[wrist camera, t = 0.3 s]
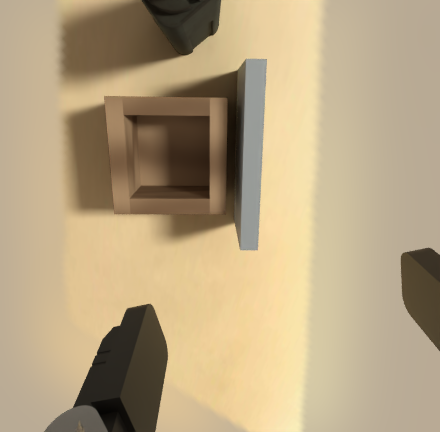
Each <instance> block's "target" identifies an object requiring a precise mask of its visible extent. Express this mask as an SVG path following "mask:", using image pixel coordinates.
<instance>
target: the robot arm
mask: <svg viewBox="0 0 440 432" xmlns="http://www.w3.org/2000/svg"><path fill="white" fill-rule="evenodd" d="M401 275H402V276H401V277H402V296H403V301H404V304H405V307H406V309H407V311H408V313H409V314H410V315H411V317H412V318H413V319H414V320H415V322H416V323H417V324H418V325H419V326H420V328H421V329H422V330H423V331H424V332H425V334H426V335H427V336H428V337H429V339H430V340H431V341H432V342H433V343H434V345H435V346H436V347H437V348H438V350H439V351H440V255H439V254H438V253H436V252H435V251H434V250H433V249H431V248H425V249H420V250H415V251H410V252H405V253H403V254H402V256H401ZM167 360H168V351H167V344H166V340H165V337H164V335H163V332H162V329H161V326H160V324H159V321H158V318H157V315H156V313H155V310H154V308H153V306H152V305H151V304H146V305H141V306H136V307H132V308H128V309H127V310H126V312H125V315H124V317H123V320H122V322H121V325H120V326H116V327H113V328H112V329H111V331H110V332H109V333H108V334H107V335H106V336H105V337H104V339H103V340H102V342H101V344H100V347H99V349H98V351H97V355H96V356H95V358H94V361H93V363H92V367H91V368H90V370H89V372H88V375H87V377H86V379H85V381H84V383H83V386H82V388H81V390H80V393H79V395H78V397H77V400H76V402H75V404H74V406H73V408H72V409H70V410H67V411H66V412H64V413H62V414H61V415H60V416H58V417H57V418H56V419H55V420H54V421H53V422H52V423H51V424H50V425H49V426H48V427H47V429H46V430H45V431H44V432H155V430H156V424H157V418H158V412H159V407H160V401H161V395H162V389H163V384H164V378H165V372H166V366H167Z"/></svg>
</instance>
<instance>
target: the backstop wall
mask: <svg viewBox="0 0 440 432" xmlns="http://www.w3.org/2000/svg"><path fill="white" fill-rule="evenodd" d="M266 65H267V59H246V60H245V61H244V62H243V64H242V65H241V66H240V68H239V69H238V72H237V114H236V156H235V199H234V222H235V227H236V231H237V236H238V241H239V246H240V250H258V235H259V214H260V192H261V171H262V150H263V129H264V107H265V86H266Z"/></svg>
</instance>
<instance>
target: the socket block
mask: <svg viewBox="0 0 440 432" xmlns="http://www.w3.org/2000/svg"><path fill="white" fill-rule="evenodd" d="M104 100H105V112H106V123H107V135H108V146H109V158H110V169H111V181H112V192H113V204H114V214H226V160H227V98H214V97H126V96H104Z"/></svg>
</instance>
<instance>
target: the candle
mask: <svg viewBox="0 0 440 432" xmlns="http://www.w3.org/2000/svg"><path fill="white" fill-rule="evenodd" d="M142 2H143V3H144V5H145V6H146V8H147V9H148V11H149V12H150V14H151V15H152V17H153V18H154V20H155V22H156V23H157V25H158V26H159V27H160V29H161V30H162V32H163V33H164V34H165V36H166V37H167V39H168V40H169V41H170V43H171V44H172V46H173V47H174V48H175V50H176V51H177V52H178V53H180V54H182V55H188V54H190V53H192V52H193V49H194V48H195V47H196V46H197V45H199V44H200V43H201V42H202V41H203V40H205V39H206V38H207V37H208V36H209V35H214V34H215V33H216V31H217V29H218V26H219V16H220V5H221V0H142Z"/></svg>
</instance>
